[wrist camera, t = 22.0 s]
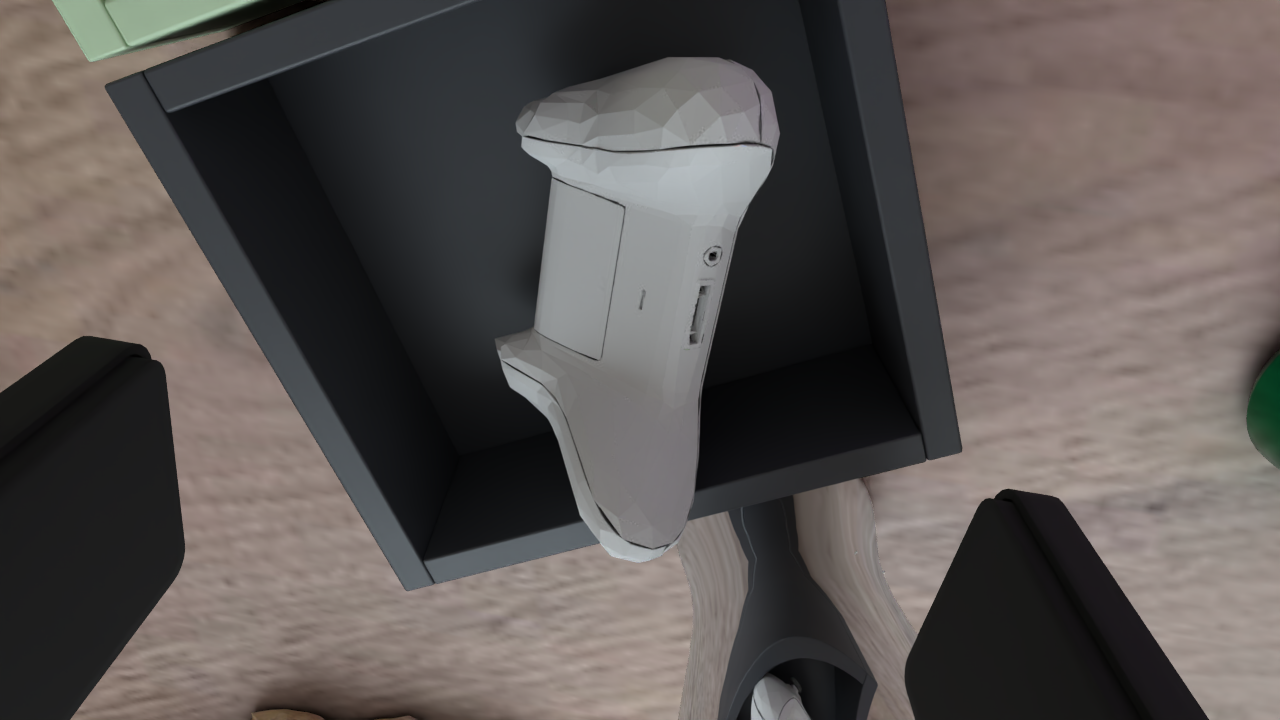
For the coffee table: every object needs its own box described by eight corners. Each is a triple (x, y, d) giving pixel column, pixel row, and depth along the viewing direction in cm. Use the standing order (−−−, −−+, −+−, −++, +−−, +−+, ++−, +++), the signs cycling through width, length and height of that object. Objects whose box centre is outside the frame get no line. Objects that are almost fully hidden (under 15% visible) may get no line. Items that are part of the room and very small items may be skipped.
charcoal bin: (799, -162, 17) (852, -196, 13) (901, 349, 23) (963, 453, 18) (230, 49, 19) (101, 85, 15) (449, 472, 25) (405, 592, 20)
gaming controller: (893, 88, 14) (662, 22, 19) (716, 73, 12) (507, 3, 17) (761, 549, 19) (601, 398, 24) (613, 599, 16) (473, 421, 21)
